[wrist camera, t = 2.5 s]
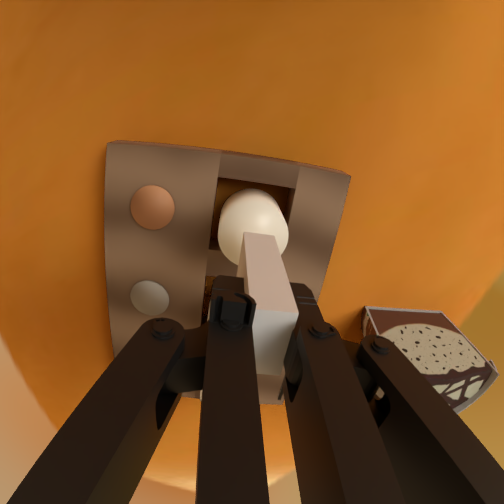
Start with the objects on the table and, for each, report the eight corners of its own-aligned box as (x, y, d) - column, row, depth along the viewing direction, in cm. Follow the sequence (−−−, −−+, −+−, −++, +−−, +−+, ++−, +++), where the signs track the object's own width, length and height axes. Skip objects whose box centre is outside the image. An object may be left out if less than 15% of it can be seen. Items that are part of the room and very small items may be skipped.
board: (117, 140, 20) (106, 143, 18) (341, 170, 22) (352, 176, 20) (123, 371, 29) (118, 387, 27) (279, 390, 31) (282, 406, 29)
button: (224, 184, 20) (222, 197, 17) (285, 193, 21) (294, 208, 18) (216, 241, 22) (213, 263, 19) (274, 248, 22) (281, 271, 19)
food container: (329, 357, 29) (357, 441, 20) (349, 304, 27) (392, 388, 17) (427, 356, 30) (467, 421, 21) (451, 311, 28) (502, 374, 19)
